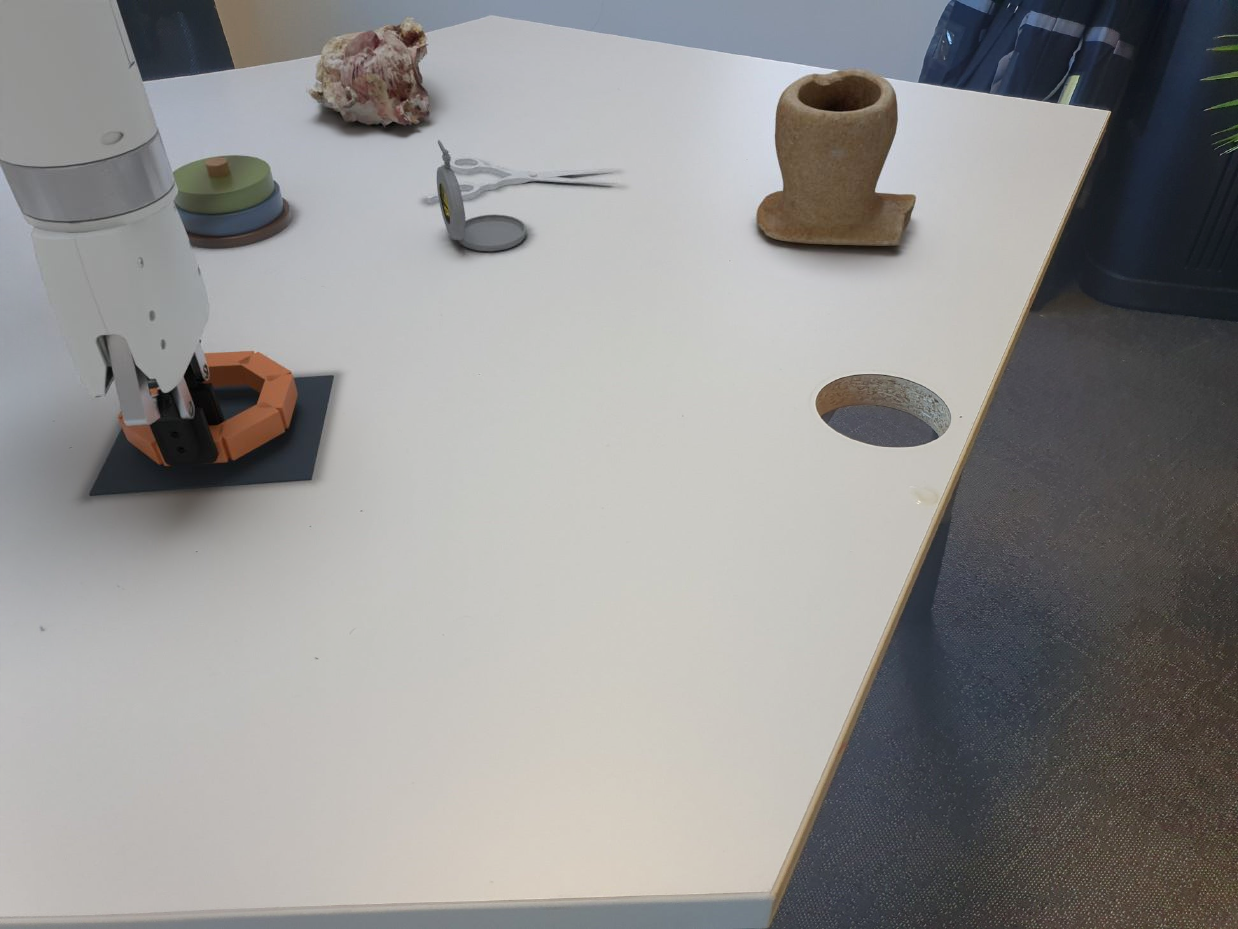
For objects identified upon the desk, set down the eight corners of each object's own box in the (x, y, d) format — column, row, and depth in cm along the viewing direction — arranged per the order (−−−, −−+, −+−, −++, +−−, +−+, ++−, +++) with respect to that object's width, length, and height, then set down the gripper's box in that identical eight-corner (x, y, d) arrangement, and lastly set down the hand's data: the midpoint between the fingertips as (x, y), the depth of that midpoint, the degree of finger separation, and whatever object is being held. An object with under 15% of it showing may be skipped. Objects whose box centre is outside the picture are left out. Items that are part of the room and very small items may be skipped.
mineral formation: (335, 69, 122) (295, 4, 114) (446, 32, 120) (413, -37, 111) (330, 185, 111) (286, 122, 102) (453, 146, 108) (418, 78, 100)
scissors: (437, 157, 100) (617, 153, 100) (438, 164, 100) (617, 160, 101) (426, 197, 92) (622, 193, 92) (427, 205, 92) (622, 200, 93)
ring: (110, 469, 58) (100, 448, 57) (157, 376, 66) (149, 355, 65) (279, 459, 59) (273, 438, 58) (305, 368, 67) (300, 347, 66)
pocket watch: (540, 235, 87) (534, 131, 81) (483, 269, 82) (472, 162, 75) (476, 214, 91) (465, 113, 84) (417, 246, 85) (401, 141, 79)
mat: (90, 498, 58) (88, 494, 58) (143, 390, 67) (141, 386, 67) (312, 482, 60) (310, 478, 59) (334, 379, 69) (333, 374, 68)
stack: (161, 253, 84) (138, 187, 80) (190, 203, 92) (170, 141, 88) (282, 247, 85) (265, 182, 81) (300, 199, 93) (285, 137, 89)
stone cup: (750, 259, 84) (768, 93, 74) (758, 205, 93) (775, 51, 83) (918, 273, 82) (959, 105, 72) (909, 217, 91) (945, 60, 81)
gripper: (69, 123, 52) (170, 382, 64) (-53, 248, 40) (99, 539, 52) (202, 118, 53) (278, 376, 65) (121, 240, 41) (232, 528, 53)
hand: (197, 447), depth 59 cm, fingers closed on ring, 2 cm apart
